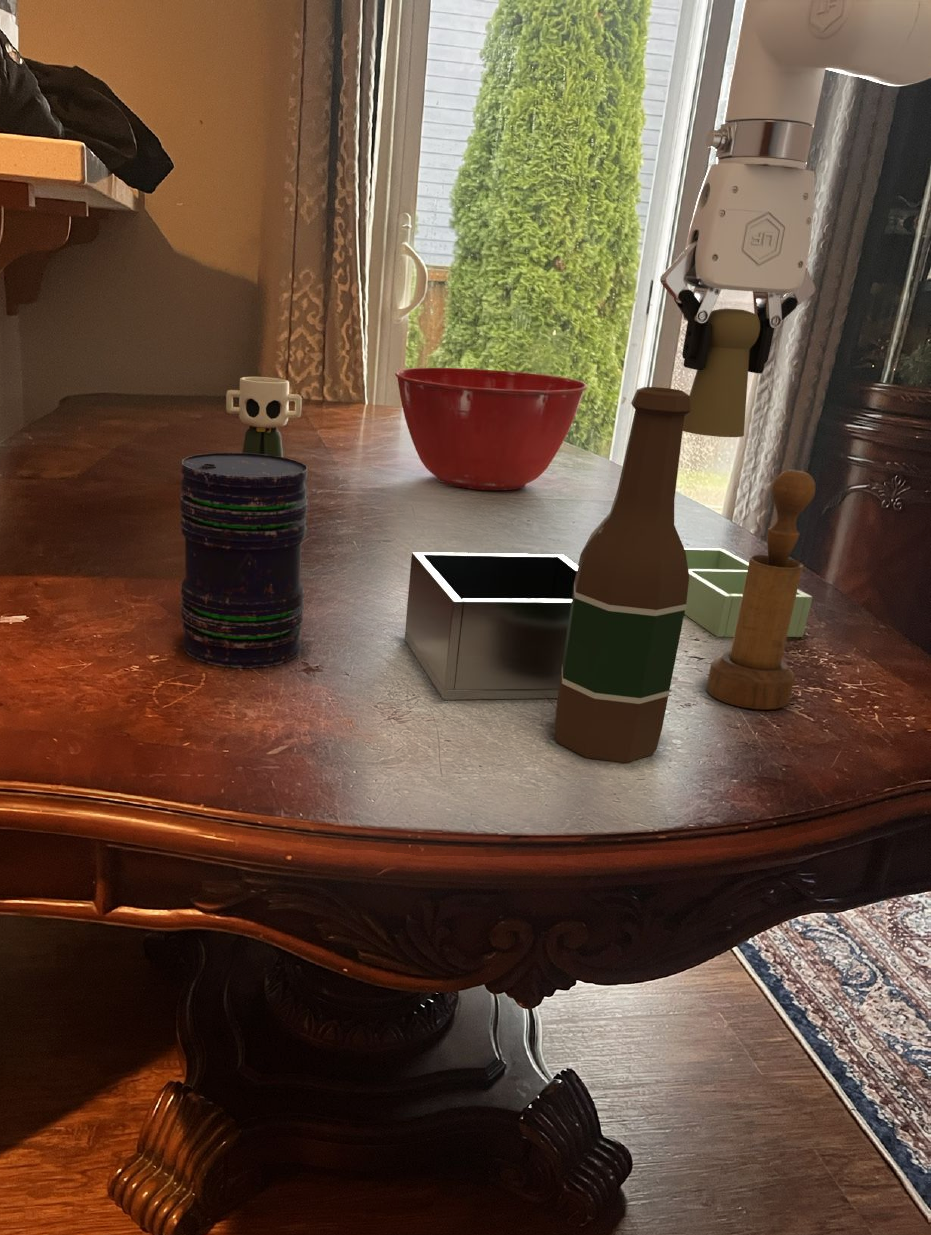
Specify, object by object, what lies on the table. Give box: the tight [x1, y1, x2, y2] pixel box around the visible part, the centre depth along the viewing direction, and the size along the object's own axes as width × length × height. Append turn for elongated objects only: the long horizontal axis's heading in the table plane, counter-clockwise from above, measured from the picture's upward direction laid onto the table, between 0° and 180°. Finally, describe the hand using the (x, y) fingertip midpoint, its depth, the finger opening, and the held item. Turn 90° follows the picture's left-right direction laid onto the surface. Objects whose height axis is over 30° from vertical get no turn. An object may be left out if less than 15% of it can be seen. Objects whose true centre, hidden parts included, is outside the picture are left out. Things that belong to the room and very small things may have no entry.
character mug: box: [225, 376, 303, 458], centre depth 154 cm, size 11×7×13 cm, turn 93°
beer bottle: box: [554, 386, 691, 764], centre depth 70 cm, size 8×8×24 cm
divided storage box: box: [684, 547, 813, 638], centre depth 106 cm, size 9×17×4 cm, turn 12°
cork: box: [683, 307, 760, 438], centre depth 98 cm, size 6×6×11 cm
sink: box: [404, 551, 578, 701], centre depth 85 cm, size 14×14×8 cm
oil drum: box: [179, 452, 308, 669], centre depth 84 cm, size 10×10×15 cm
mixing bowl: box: [394, 367, 588, 491], centre depth 158 cm, size 28×28×16 cm
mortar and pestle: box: [705, 469, 816, 711], centre depth 81 cm, size 7×6×18 cm
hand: (723, 368), depth 98 cm, fingers closed on cork, 5 cm apart
